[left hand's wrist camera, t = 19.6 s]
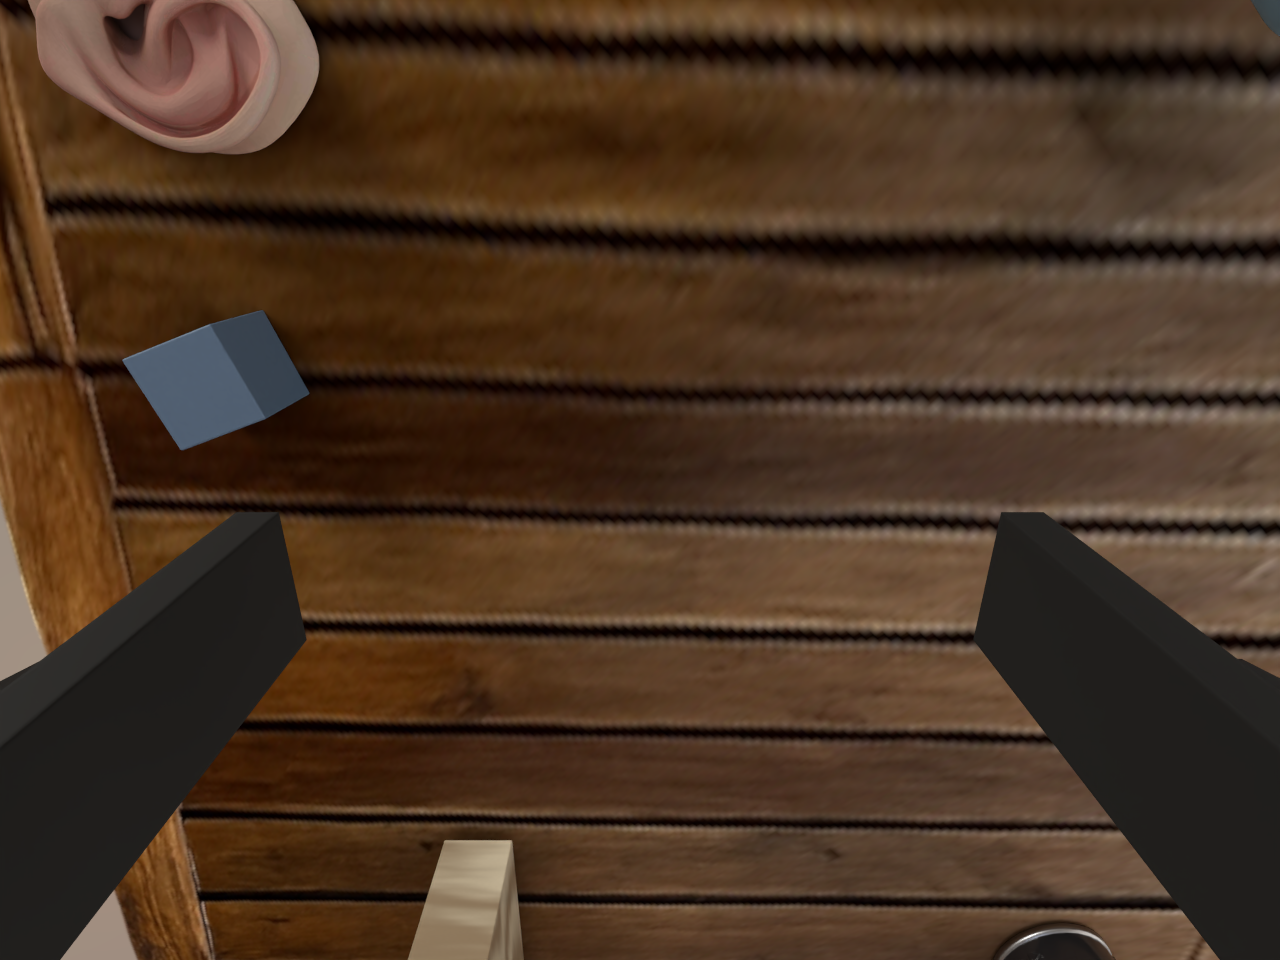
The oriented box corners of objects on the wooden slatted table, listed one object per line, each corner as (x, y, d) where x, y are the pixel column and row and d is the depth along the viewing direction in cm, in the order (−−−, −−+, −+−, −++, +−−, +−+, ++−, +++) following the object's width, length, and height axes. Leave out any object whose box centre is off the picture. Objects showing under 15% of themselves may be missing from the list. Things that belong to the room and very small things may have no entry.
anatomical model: (-128, -109, 27) (92, -287, 25) (-35, -71, 30) (162, -224, 29) (112, 213, 31) (314, 83, 29) (168, 212, 35) (351, 97, 33)
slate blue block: (263, 309, 37) (209, 324, 32) (310, 393, 39) (265, 419, 34) (185, 341, 38) (121, 359, 33) (234, 422, 39) (180, 451, 35)
